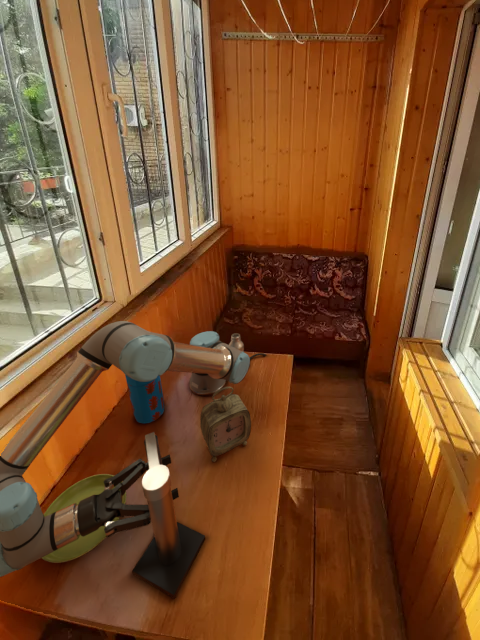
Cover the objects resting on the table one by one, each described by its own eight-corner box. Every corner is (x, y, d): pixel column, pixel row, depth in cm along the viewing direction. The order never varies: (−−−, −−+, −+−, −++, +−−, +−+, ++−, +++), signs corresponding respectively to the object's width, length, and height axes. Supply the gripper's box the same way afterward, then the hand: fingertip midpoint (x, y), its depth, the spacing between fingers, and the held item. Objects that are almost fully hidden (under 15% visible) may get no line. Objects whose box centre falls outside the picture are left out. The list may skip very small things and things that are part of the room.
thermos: (130, 410, 118) (118, 356, 110) (158, 396, 125) (149, 344, 116) (139, 429, 111) (128, 372, 102) (169, 413, 117) (160, 358, 109)
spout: (182, 546, 74) (171, 482, 66) (157, 560, 71) (142, 495, 64) (170, 479, 88) (159, 420, 81) (148, 489, 86) (136, 429, 78)
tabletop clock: (210, 468, 98) (204, 407, 89) (201, 446, 105) (194, 387, 96) (251, 446, 105) (249, 387, 96) (240, 426, 112) (237, 370, 104)
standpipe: (174, 599, 70) (160, 529, 61) (133, 574, 73) (114, 506, 65) (205, 539, 80) (197, 472, 72) (167, 520, 84) (155, 455, 76)
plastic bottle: (242, 380, 134) (240, 341, 127) (228, 377, 135) (225, 339, 128) (247, 370, 140) (245, 332, 133) (233, 368, 141) (231, 330, 134)
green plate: (78, 477, 95) (76, 470, 93) (142, 485, 92) (141, 478, 91) (15, 563, 75) (11, 555, 74) (94, 576, 73) (91, 568, 72)
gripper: (84, 487, 86) (168, 451, 97) (80, 581, 68) (184, 524, 78) (78, 468, 84) (165, 433, 94) (72, 561, 65) (181, 504, 76)
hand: (174, 474), depth 86 cm, fingers open, 10 cm apart
